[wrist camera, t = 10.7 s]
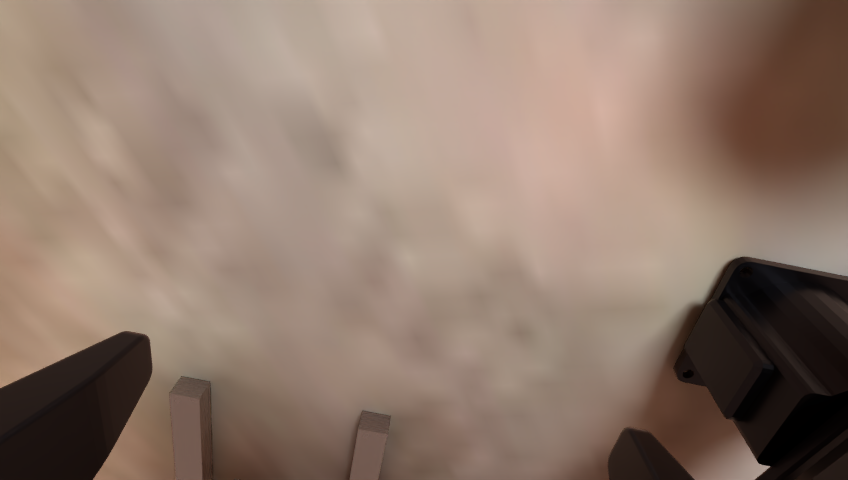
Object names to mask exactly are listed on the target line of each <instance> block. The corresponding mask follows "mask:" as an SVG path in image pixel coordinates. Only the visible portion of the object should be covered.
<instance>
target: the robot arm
mask: <svg viewBox="0 0 848 480" xmlns="http://www.w3.org/2000/svg"><path fill="white" fill-rule="evenodd" d="M745 267H748V269H747V270H746V271H744V272H741V273H740V271H741V270H742V269H743V268H745ZM686 370H689V371H687V372H684V371H686ZM674 372H675V374H676V376H677V378H678V379H679V380H680V381H682V382H686V383H691V384H696V385H701V386H707V388H708V389H709V391H710V393H711V395H712V396H713V398H714V400H715V402H716V403H717V405H718V407H719V408H720V410H721V412H722V414H723V415H724V417H725V418H726V419H730V420H733V421H734V423H735V424H736V426H737V428H738V430H739V431H740V433H741V435H742V436H743V438H744V440H745V441H746V443H747V445H748V446H749V448H750V450H751V451H752V453H753V455H754V456H755V458H756V460H757V461H758V463H759V464H762V465H767V466H771V467H770V468H768V469H767V470H766V471H765V472H763V473H762V474H761V475H760V476H759V477H757V478H756V479H755V480H848V277H847V276H842V275H836V274H831V273H826V272H821V271H816V270H811V269H806V268H801V267H796V266H791V265H786V264H781V263H776V262H771V261H766V260H761V259H756V258H751V257H740V258H737V259H735V260H734V261H733V262H732V263H731V264H730V265H729V267H728V269H727V271H726V273H725V274H724V276H723V278H722V280H721V282H720V284H719V285H718V287H717V289H716V291H715V293H714V295H713V296H712V298H711V300H710V301H709V302H708V303H707V304H706V306H705V308H704V310H703V312H702V314H701V315H700V317H699V319H698V321H697V323H696V325H695V326H694V328H693V330H692V332H691V334H690V336H689V337H688V339H687V341H686V343H685V345H684V349H683V351H682V353H681V355H680V357H679V359H678V360H677V362H676V364H675V366H674ZM151 374H152V358H151V347H150V340H149V338H148V336H147V335H145V334H140V333H135V332H130V331H124V332H121V333H118V334H116V335H114V336H112V337H110V338H108V339H106V340H103V341H101V342H99V343H97V344H95V345H93V346H90V347H88V348H86V349H84V350H82V351H80V352H77V353H75V354H73V355H71V356H69V357H67V358H65V359H62V360H60V361H58V362H56V363H54V364H52V365H49V366H47V367H45V368H43V369H41V370H39V371H37V372H34V373H32V374H30V375H28V376H26V377H24V378H21V379H19V380H17V381H15V382H13V383H11V384H9V385H6V386H4V387H2V388H0V480H93V478H94V477H95V476H96V474H97V473H98V471H99V470H100V468H101V467H102V465H103V463H104V462H105V460H106V459H107V457H108V456H109V454H110V452H111V450H112V449H113V447H114V445H115V443H116V442H117V440H118V438H119V436H120V434H121V432H122V430H123V429H124V427H125V425H126V423H127V421H128V419H129V417H130V416H131V414H132V412H133V410H134V408H135V406H136V404H137V403H138V401H139V399H140V397H141V395H142V393H143V391H144V390H145V388H146V386H147V384H148V382H149V380H150V377H151ZM608 473H609V480H694V479H693V478H692V476H691V475H690V474H689V473H688V472H687V471H686V470H685V469H684V468H683V467H682V466H681V465H680V464H679V463H678V462H677V460H676V459H675V458H674V457H673V456H672V455H671V454H670V453H669V452H668V451H667V450H666V449H665V448H664V447H663V446H662V444H661V443H660V442H659V441H658V440H657V439H656V438H655V437H654V436H653V435H652V434H651V433H650V432H649V431H646V430H643V429H638V428H632V427H626V428H625V429H623V431H622V432H621V434H620V436H619V438H618V440H617V442H616V444H615V446H614V448H613V450H612V451H611V453H610V456H609V460H608Z"/></svg>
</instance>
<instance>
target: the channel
mask: <svg viewBox="0 0 848 480" xmlns="http://www.w3.org/2000/svg"><path fill="white" fill-rule="evenodd" d="M169 396H170V409H171V422H172V435H173V448H174V461H175V474H176V480H213V479H212V439H211V399H210V382H208V381H203V380H197V379H192V378H187V377H182V376H181V378H180V379H179V380H178V382H177V383H176V385H175V386H174V387H173V389H172V390H171V392H170V393H169ZM390 418H391V416H387V415H382V414H377V413H371V412H366V411H362V415H361V419H360V423H359V427H358V433H357V438H356V444H355V450H354V456H353V462H352V468H351V473H350V479H349V480H378V478H379V473H380V468H381V464H382V459H383V454H384V450H385V445H386V440H387V435H388V430H389V424H390Z"/></svg>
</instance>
